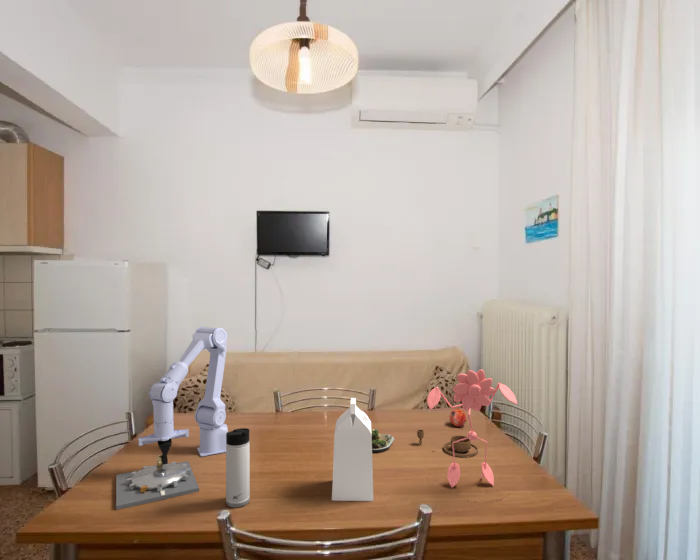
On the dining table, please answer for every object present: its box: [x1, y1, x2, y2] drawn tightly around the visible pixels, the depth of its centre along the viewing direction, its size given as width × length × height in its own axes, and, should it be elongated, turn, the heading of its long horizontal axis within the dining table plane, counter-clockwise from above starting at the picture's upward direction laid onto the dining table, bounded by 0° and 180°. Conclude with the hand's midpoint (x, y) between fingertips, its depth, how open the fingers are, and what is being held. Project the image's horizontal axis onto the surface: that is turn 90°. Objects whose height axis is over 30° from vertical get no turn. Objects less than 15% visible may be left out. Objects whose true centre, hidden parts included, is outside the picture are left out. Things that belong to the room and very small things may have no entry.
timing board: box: [115, 460, 200, 511], centre depth 129 cm, size 21×21×1 cm
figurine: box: [426, 369, 518, 503], centre depth 125 cm, size 15×26×35 cm, turn 92°
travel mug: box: [225, 427, 251, 509], centre depth 118 cm, size 6×7×20 cm
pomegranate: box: [448, 408, 468, 428], centre depth 180 cm, size 7×7×10 cm
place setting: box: [416, 429, 479, 458], centre depth 157 cm, size 18×20×6 cm
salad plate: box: [371, 428, 395, 454], centre depth 162 cm, size 19×18×5 cm
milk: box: [331, 397, 374, 502], centre depth 125 cm, size 12×12×26 cm
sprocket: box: [127, 454, 192, 492], centre depth 130 cm, size 18×18×4 cm
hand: (164, 463), depth 136 cm, fingers closed, pressing on sprocket
